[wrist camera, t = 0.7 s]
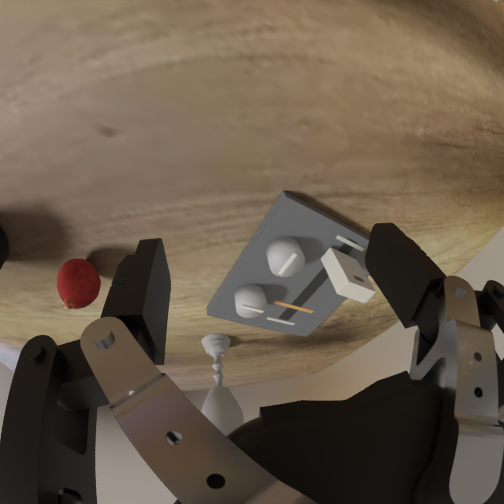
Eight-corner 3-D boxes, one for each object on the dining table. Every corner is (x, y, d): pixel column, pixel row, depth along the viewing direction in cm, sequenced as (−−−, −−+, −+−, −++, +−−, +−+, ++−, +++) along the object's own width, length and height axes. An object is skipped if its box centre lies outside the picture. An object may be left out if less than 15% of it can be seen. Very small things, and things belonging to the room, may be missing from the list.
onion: (114, 265, 32) (99, 314, 26) (92, 285, 33) (77, 330, 27) (81, 237, 28) (57, 283, 22) (61, 260, 30) (40, 304, 24)
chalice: (187, 344, 44) (189, 445, 30) (208, 325, 41) (216, 436, 27) (222, 355, 48) (231, 448, 34) (245, 338, 45) (260, 439, 31)
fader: (330, 246, 32) (349, 281, 27) (356, 259, 34) (376, 291, 29) (320, 259, 33) (336, 294, 28) (347, 270, 35) (364, 303, 30)
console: (283, 190, 29) (292, 209, 26) (384, 245, 36) (397, 264, 33) (206, 306, 39) (207, 329, 35) (304, 330, 46) (310, 349, 43)
